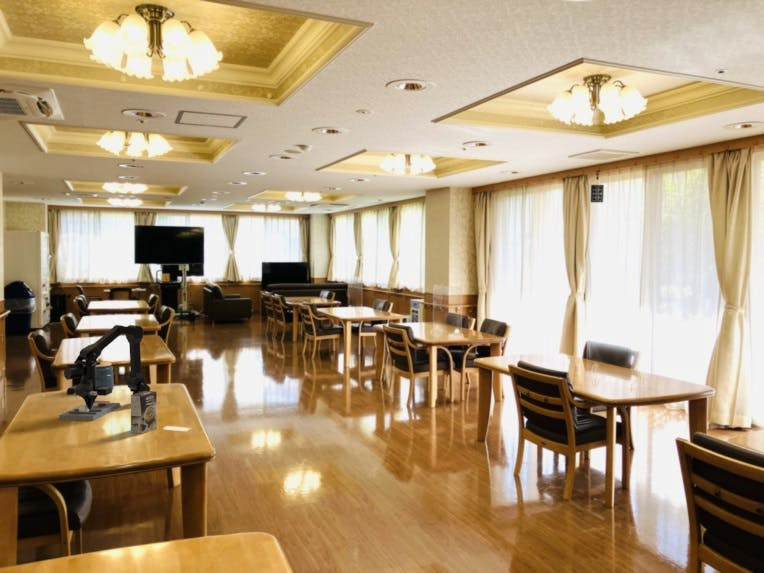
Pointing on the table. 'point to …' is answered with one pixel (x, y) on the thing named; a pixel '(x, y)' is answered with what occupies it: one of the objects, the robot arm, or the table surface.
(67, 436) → the table surface
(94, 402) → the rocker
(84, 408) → the slider
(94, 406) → the switch panel
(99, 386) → the canister
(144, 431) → the coffee box
